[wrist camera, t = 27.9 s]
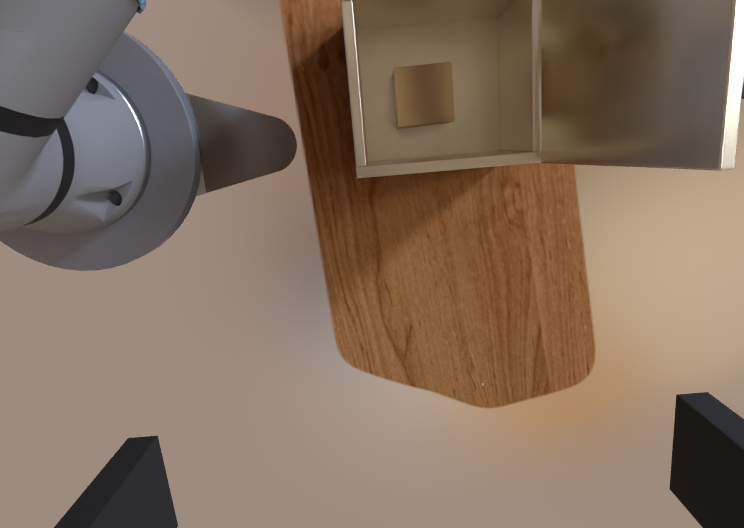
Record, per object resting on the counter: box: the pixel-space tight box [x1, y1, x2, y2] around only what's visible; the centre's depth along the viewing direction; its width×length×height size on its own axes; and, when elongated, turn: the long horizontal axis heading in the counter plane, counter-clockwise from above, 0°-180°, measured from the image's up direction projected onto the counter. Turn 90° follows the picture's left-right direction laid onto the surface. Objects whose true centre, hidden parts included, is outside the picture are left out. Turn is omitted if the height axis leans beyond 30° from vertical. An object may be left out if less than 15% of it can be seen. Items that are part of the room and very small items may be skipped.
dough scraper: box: [541, 0, 744, 171], centre depth 27 cm, size 14×13×9 cm
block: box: [392, 62, 455, 129], centre depth 40 cm, size 4×4×4 cm
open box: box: [341, 0, 542, 178], centre depth 38 cm, size 14×13×10 cm
